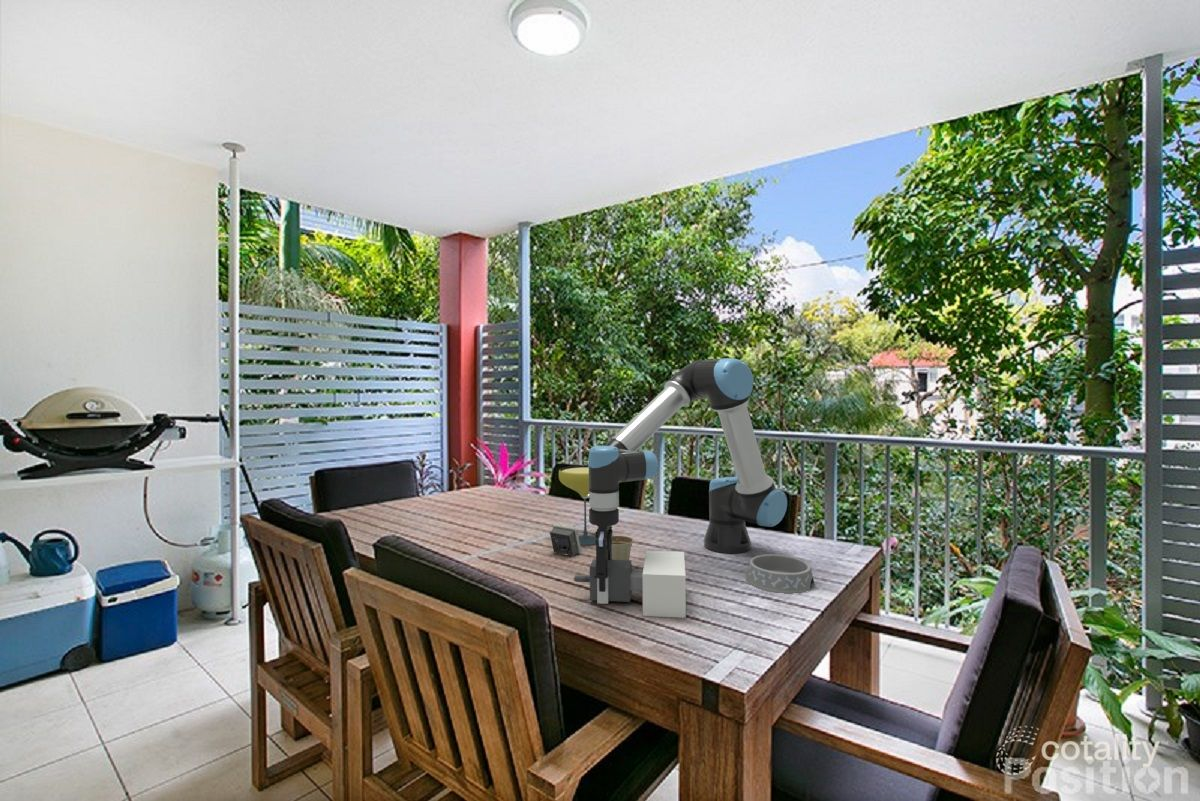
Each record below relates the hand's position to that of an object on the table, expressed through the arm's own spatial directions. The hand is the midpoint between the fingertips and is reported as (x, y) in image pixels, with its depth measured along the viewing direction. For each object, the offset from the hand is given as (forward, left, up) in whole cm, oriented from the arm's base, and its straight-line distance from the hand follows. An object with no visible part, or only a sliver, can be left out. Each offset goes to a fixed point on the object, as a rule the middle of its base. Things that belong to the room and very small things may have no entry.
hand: (604, 597), depth 141 cm
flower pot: (-1, -23, -1) cm, 23 cm away
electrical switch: (+17, -35, -1) cm, 39 cm away
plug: (-2, 0, 0) cm, 2 cm away
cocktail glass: (+13, -50, -1) cm, 52 cm away
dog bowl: (-46, -18, -1) cm, 50 cm away
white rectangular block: (-15, 0, 0) cm, 15 cm away
